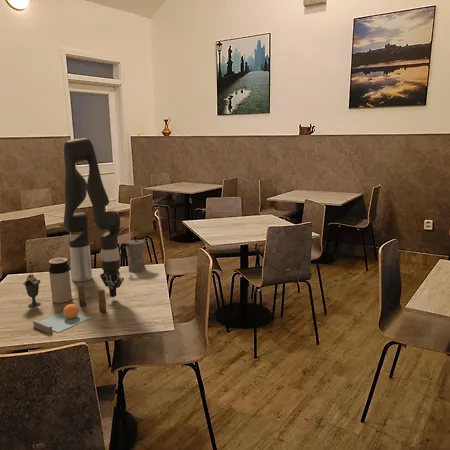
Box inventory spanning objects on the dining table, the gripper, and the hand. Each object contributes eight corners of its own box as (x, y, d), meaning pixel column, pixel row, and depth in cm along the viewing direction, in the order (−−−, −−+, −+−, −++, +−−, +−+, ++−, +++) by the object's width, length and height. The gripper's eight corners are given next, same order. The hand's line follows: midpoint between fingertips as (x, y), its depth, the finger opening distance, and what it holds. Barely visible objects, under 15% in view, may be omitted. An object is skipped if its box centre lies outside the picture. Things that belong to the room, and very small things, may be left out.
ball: (73, 307, 168) (65, 319, 165) (66, 300, 165) (57, 312, 161) (84, 310, 166) (75, 322, 163) (76, 302, 162) (68, 315, 159)
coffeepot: (143, 264, 230) (142, 232, 226) (152, 269, 222) (150, 236, 219) (117, 270, 220) (115, 237, 216) (125, 275, 213) (123, 241, 209)
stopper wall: (33, 326, 157) (32, 320, 156) (36, 325, 158) (35, 319, 157) (49, 333, 151) (48, 327, 151) (52, 332, 152) (51, 326, 152)
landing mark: (35, 323, 160) (35, 323, 160) (67, 310, 171) (67, 310, 171) (58, 332, 152) (58, 332, 152) (89, 318, 163) (89, 318, 163)
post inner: (78, 305, 176) (76, 285, 174) (83, 303, 178) (81, 283, 176) (82, 306, 175) (80, 286, 173) (87, 304, 177) (85, 284, 175)
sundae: (37, 300, 182) (34, 267, 179) (45, 304, 178) (42, 270, 174) (22, 305, 177) (18, 271, 174) (30, 309, 173) (26, 274, 169)
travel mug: (65, 304, 178) (61, 263, 174) (48, 302, 179) (44, 262, 176) (75, 296, 185) (71, 257, 182) (59, 295, 187) (55, 257, 183)
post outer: (98, 312, 169) (96, 291, 167) (103, 310, 171) (101, 289, 169) (102, 313, 168) (100, 292, 166) (107, 311, 170) (106, 290, 168)
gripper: (92, 257, 178) (96, 296, 182) (114, 262, 171) (117, 302, 175) (106, 253, 184) (109, 290, 188) (127, 258, 177) (130, 296, 181)
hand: (113, 296), depth 181 cm, fingers closed
